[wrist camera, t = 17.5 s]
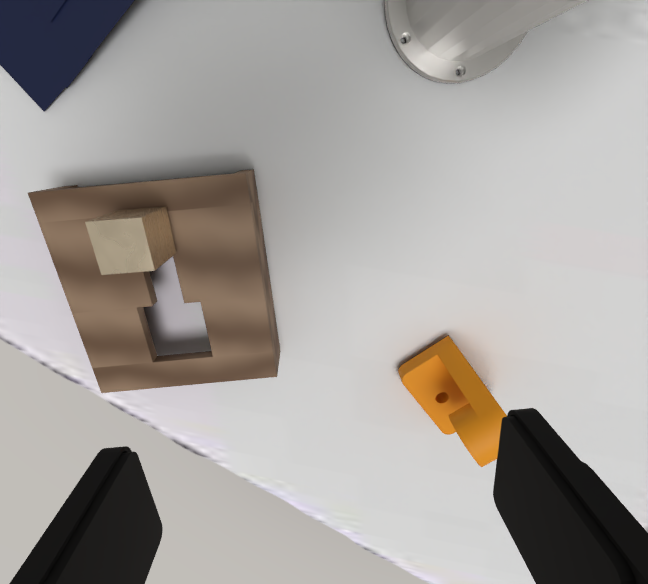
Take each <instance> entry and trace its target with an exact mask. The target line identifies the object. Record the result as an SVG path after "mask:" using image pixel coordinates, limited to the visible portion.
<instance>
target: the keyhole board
mask: <svg viewBox="0 0 648 584" xmlns="http://www.w3.org/2000/svg"><path fill="white" fill-rule="evenodd" d="M28 195H29V198H30V200H31V203H32V206H33V208H34V211H35V214H36V216H37V219H38V222H39V225H40V227H41V230H42V233H43V235H44V238H45V241H46V244H47V246H48V249H49V252H50V254H51V257H52V260H53V263H54V265H55V268H56V271H57V273H58V276H59V279H60V282H61V284H62V287H63V290H64V292H65V295H66V298H67V301H68V303H69V306H70V309H71V311H72V314H73V317H74V320H75V322H76V325H77V328H78V330H79V333H80V336H81V339H82V341H83V344H84V347H85V349H86V352H87V355H88V358H89V360H90V363H91V366H92V368H93V371H94V374H95V377H96V379H97V382H98V385H99V387H100V390H101V393H107V392H117V391H128V390H139V389H150V388H160V387H171V386H182V385H193V384H203V383H214V382H225V381H235V380H246V379H257V378H268V377H277V373H278V365H279V358H280V346H279V339H278V332H277V325H276V318H275V311H274V304H273V298H272V291H271V284H270V277H269V270H268V263H267V256H266V250H265V243H264V236H263V229H262V222H261V215H260V208H259V201H258V195H257V188H256V181H255V174H254V169H252V170H241V171H239V172H236V173H233V174H222V175H211V176H200V177H189V178H177V179H166V180H155V181H144V182H133V183H122V184H111V185H100V186H88V187H78V186H77V185H74V186H64V187H58V188H52V189H46V190H41V191H35V192H29V193H28ZM154 207H166V208H167V212H168V217H169V221H170V226H171V230H172V235H173V239H174V244H175V248H176V254H174V255H173V257H174V262H175V266H176V270H177V274H178V278H179V282H180V286H181V291H182V295H183V299H184V303H191V302H201V306H202V310H203V315H204V319H205V324H206V328H207V333H208V337H209V341H210V346H211V350H212V351H207V352H196V353H185V354H174V355H164V356H157V353H156V350H155V347H154V343H153V340H152V336H151V333H150V329H149V326H148V322H147V319H146V315H145V312H144V308H143V307H148V306H153V305H154V304H155V303H156V302H157V298H156V294H155V291H154V287H153V283H152V280H151V276H150V272H149V271H145V272H133V273H120V274H107V275H101V272H100V269H99V266H98V262H97V259H96V256H95V253H94V249H93V246H92V243H91V240H90V236H89V233H88V230H87V227H86V224H85V222H86V221H89V220H92V219H95V218H98V217H100V216H103V215H106V214H109V213H112V212H115V211H118V210H128V209H141V208H154Z"/></svg>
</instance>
